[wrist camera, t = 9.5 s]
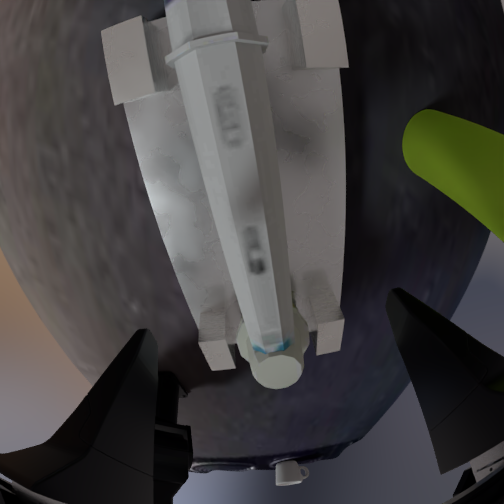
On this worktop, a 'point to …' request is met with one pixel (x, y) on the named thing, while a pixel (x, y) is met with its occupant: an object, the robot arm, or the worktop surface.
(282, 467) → the cup
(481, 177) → the soap dispenser
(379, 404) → the worktop surface
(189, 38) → the electric toothbrush handle
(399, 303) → the robot arm
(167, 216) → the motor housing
